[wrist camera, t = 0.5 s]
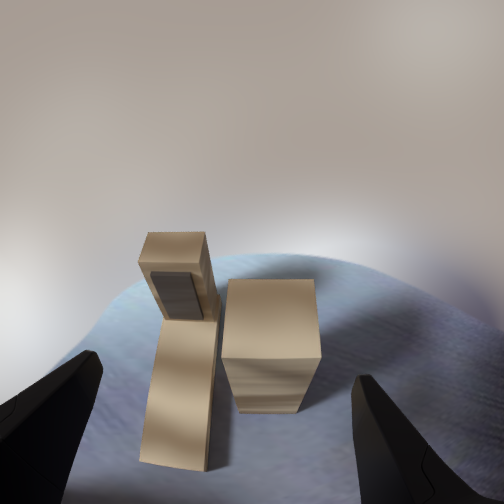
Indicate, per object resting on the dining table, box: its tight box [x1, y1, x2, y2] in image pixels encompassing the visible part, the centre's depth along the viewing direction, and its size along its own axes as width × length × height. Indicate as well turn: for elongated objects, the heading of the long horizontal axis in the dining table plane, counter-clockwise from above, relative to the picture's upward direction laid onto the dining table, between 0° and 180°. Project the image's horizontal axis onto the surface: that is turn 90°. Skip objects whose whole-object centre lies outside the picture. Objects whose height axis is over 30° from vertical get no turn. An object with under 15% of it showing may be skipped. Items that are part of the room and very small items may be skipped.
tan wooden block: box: [221, 279, 321, 414], centre depth 19 cm, size 5×4×12 cm
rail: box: [138, 232, 222, 472], centre depth 21 cm, size 16×5×10 cm, turn 179°
